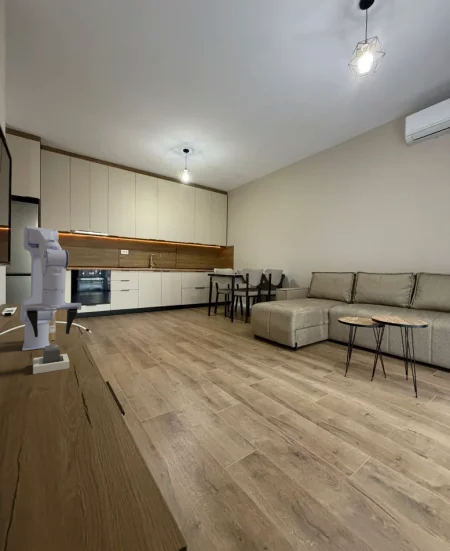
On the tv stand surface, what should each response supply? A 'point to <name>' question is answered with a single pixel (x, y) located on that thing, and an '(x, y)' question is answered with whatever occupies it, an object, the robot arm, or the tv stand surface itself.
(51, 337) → the sprinkles bottle
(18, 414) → the tv stand surface
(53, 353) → the stepped grey plug block
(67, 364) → the socket block
